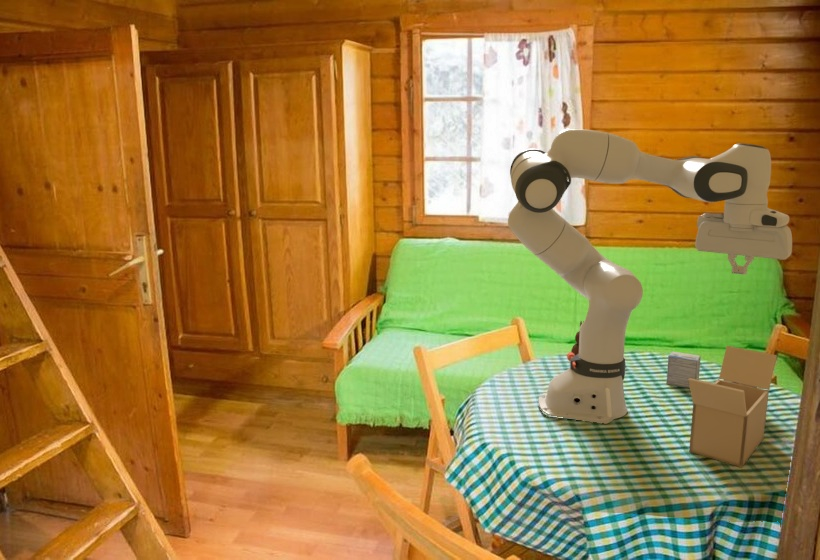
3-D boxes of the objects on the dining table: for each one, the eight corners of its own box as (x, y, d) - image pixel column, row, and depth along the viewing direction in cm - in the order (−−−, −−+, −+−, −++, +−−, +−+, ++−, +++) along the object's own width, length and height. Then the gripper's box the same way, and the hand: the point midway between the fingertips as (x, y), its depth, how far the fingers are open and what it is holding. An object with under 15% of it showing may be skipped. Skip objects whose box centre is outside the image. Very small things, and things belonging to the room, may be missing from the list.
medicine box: (698, 384, 183) (701, 355, 181) (696, 389, 179) (698, 360, 177) (669, 379, 187) (671, 350, 185) (665, 384, 183) (668, 355, 181)
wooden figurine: (579, 371, 194) (581, 323, 190) (567, 365, 199) (569, 318, 196) (597, 368, 197) (599, 320, 193) (585, 362, 202) (587, 315, 198)
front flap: (693, 401, 143) (692, 403, 143) (689, 377, 138) (688, 379, 138) (746, 415, 136) (746, 416, 135) (744, 390, 131) (743, 392, 131)
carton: (689, 451, 146) (693, 402, 143) (713, 425, 158) (718, 379, 155) (741, 467, 139) (747, 415, 136) (763, 438, 151) (769, 390, 148)
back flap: (726, 345, 156) (727, 346, 157) (718, 378, 155) (719, 378, 156) (776, 355, 149) (777, 355, 150) (768, 389, 148) (769, 389, 149)
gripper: (693, 213, 154) (689, 270, 157) (790, 220, 141) (783, 282, 144) (702, 210, 159) (698, 265, 162) (797, 216, 145) (790, 276, 149)
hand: (739, 273), depth 153 cm, fingers closed
